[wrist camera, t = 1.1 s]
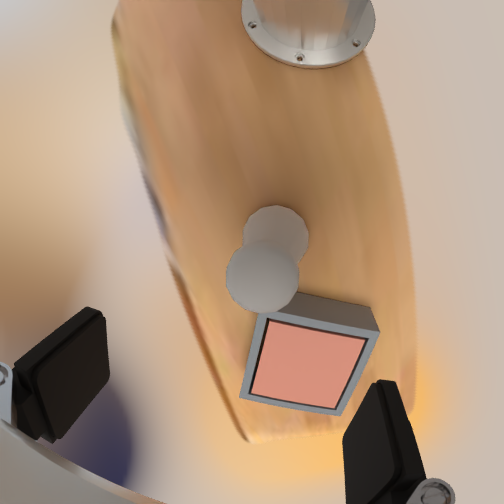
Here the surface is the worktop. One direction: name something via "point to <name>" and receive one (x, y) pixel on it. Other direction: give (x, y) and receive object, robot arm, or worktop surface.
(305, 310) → the press housing
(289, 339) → the pan
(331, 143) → the worktop surface
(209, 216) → the worktop surface
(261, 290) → the grey bowling pin
